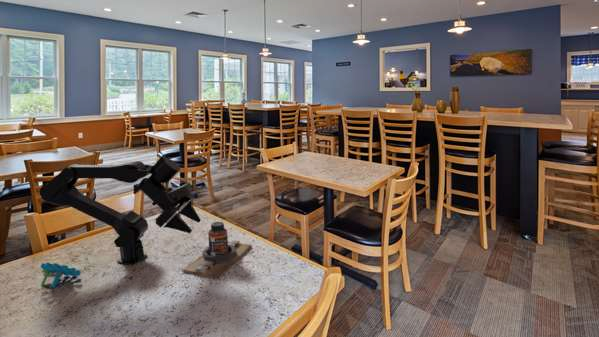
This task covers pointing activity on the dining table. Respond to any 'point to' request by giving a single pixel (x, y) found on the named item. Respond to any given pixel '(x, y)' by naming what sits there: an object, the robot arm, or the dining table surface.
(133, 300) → the dining table surface
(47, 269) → the teal plastic irregular piece
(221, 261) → the octagonal bottle holder
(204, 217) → the dining table surface
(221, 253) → the supplement bottle
